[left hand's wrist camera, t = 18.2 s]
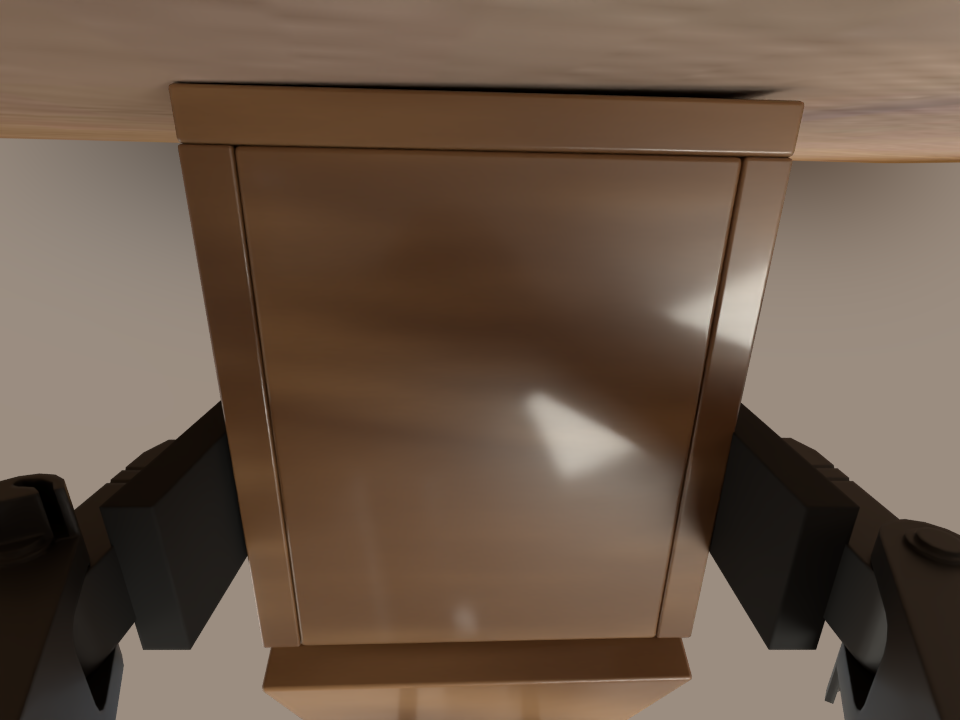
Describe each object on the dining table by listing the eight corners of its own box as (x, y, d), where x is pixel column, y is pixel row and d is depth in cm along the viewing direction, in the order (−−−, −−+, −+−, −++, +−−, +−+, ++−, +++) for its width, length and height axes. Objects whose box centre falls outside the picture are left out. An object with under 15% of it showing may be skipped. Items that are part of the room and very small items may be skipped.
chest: (587, 147, 20) (566, 392, 23) (351, 141, 19) (367, 392, 23) (807, 99, 7) (691, 638, 11) (165, 81, 7) (262, 648, 10)
